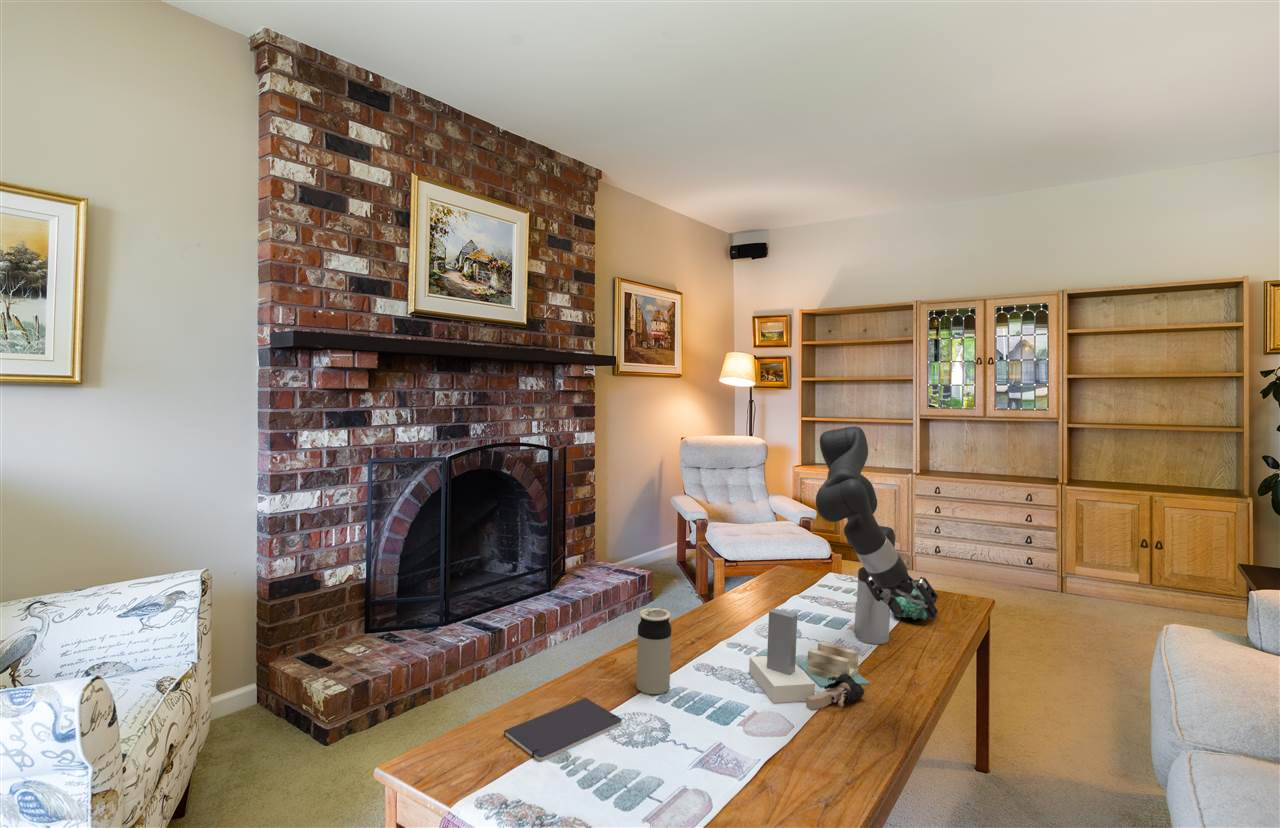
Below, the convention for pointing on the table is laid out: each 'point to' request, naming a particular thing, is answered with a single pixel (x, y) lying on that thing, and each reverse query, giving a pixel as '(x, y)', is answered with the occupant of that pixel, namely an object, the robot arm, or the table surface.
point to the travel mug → (653, 651)
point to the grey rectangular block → (782, 641)
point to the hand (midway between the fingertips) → (916, 614)
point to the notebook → (562, 729)
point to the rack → (832, 661)
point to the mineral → (911, 608)
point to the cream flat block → (781, 682)
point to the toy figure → (836, 693)
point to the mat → (824, 682)
